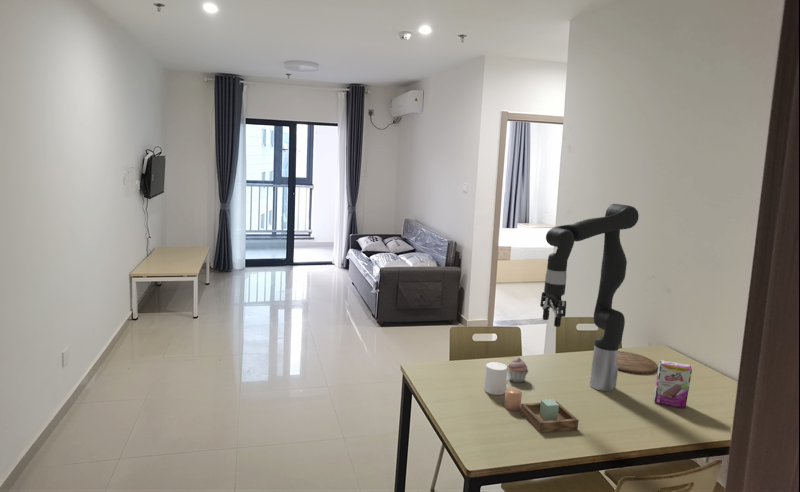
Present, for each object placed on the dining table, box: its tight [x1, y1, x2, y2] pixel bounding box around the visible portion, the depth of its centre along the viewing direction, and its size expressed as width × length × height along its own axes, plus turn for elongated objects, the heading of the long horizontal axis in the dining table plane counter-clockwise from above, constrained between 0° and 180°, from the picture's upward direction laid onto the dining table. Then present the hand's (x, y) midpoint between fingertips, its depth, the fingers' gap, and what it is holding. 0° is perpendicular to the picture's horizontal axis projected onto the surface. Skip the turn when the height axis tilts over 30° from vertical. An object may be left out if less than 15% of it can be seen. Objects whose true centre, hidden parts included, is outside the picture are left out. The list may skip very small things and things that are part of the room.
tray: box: [519, 401, 580, 434], centre depth 192 cm, size 14×14×4 cm
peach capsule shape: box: [503, 387, 523, 412], centre depth 202 cm, size 6×6×6 cm
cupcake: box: [506, 356, 529, 384], centre depth 227 cm, size 9×9×10 cm
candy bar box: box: [653, 359, 693, 409], centre depth 211 cm, size 11×5×16 cm, turn 71°
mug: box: [483, 361, 511, 396], centre depth 216 cm, size 8×10×12 cm
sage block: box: [539, 398, 560, 421], centre depth 192 cm, size 4×4×6 cm
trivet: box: [616, 350, 658, 375], centre depth 254 cm, size 25×25×2 cm
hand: (551, 322), depth 207 cm, fingers open, 8 cm apart
